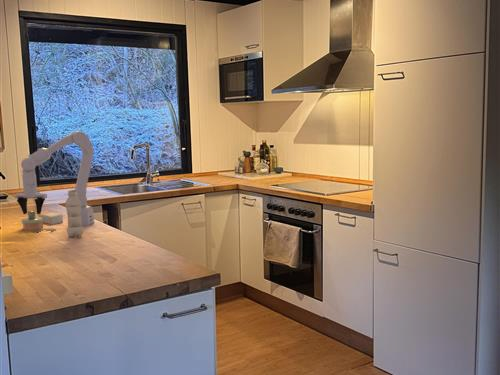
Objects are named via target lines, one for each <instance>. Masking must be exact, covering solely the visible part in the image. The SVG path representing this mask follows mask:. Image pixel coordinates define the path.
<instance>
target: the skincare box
mask: <svg viewBox="0 0 500 375" xmlns="http://www.w3.org/2000/svg"><path fill="white" fill-rule="evenodd" d="M38 217H41V218H43V224H44V223H45V224H50V225H54V224H60V223H63V222H64V218H63V217H64V216H63V214H61V213H56V212H52V211H47V212H41V214H38Z"/></svg>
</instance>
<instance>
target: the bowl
mask: <svg viewBox="0 0 500 375" xmlns="http://www.w3.org/2000/svg"><path fill="white" fill-rule="evenodd" d="M22 229H23V230H24V231H35V230H39V229H44V222H43V221H42V222H39V223H33V224H23V223H22Z"/></svg>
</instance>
